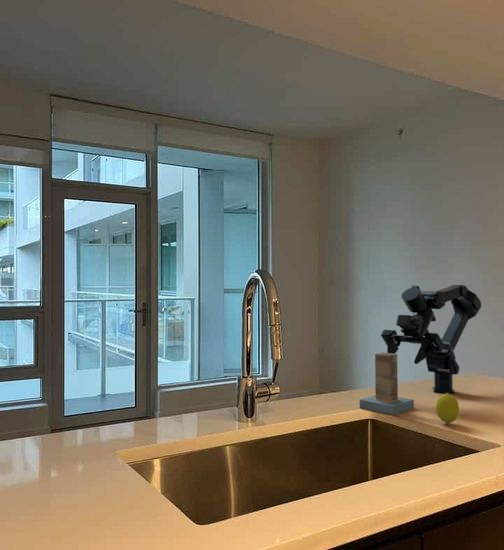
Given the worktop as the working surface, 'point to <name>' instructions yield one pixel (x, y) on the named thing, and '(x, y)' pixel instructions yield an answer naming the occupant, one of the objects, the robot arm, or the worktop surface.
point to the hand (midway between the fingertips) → (401, 361)
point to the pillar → (386, 376)
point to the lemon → (447, 408)
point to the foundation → (387, 405)
